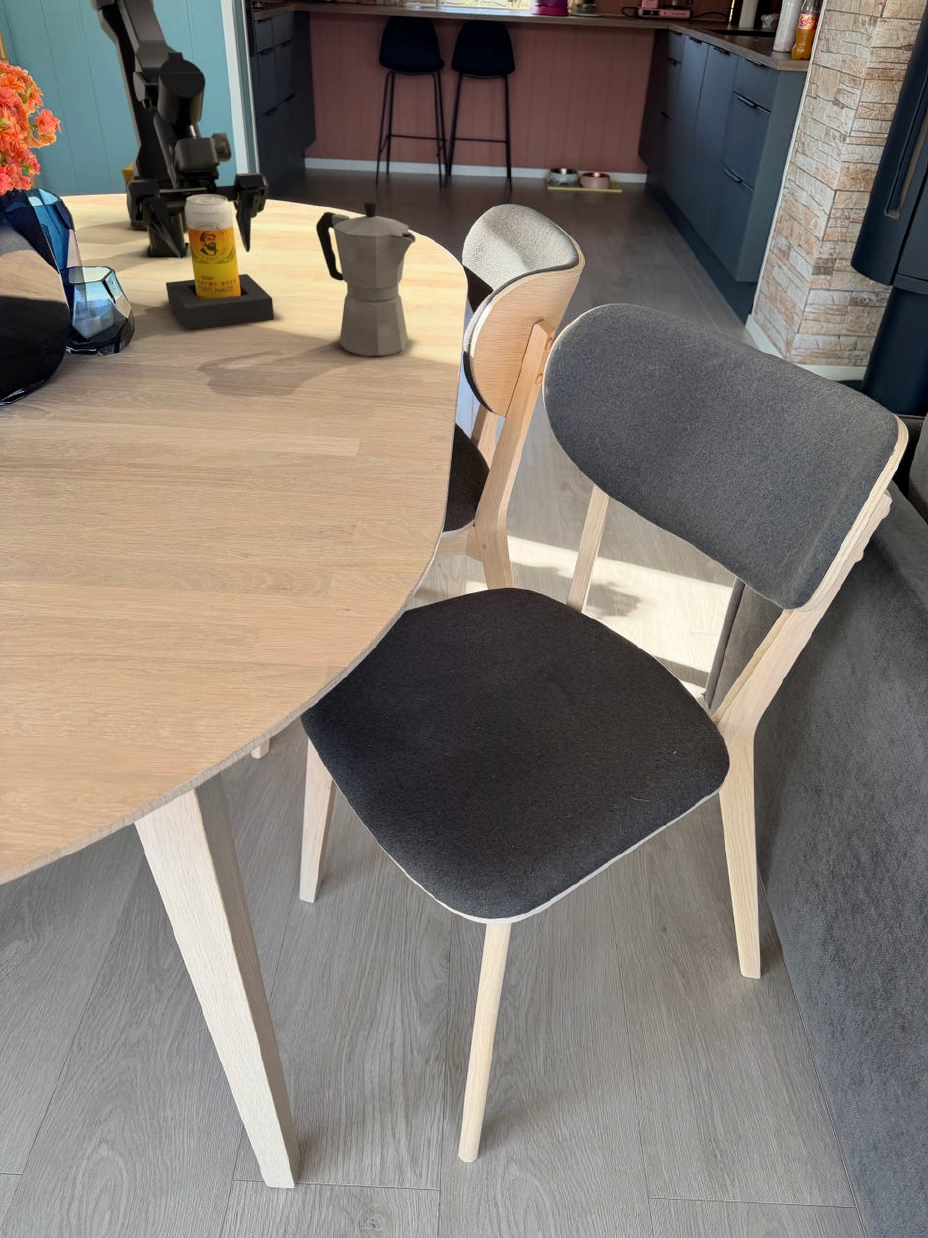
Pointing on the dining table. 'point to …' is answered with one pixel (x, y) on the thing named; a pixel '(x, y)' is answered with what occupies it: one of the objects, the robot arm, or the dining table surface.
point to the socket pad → (220, 305)
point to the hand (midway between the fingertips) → (215, 253)
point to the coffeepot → (368, 278)
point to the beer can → (212, 246)
